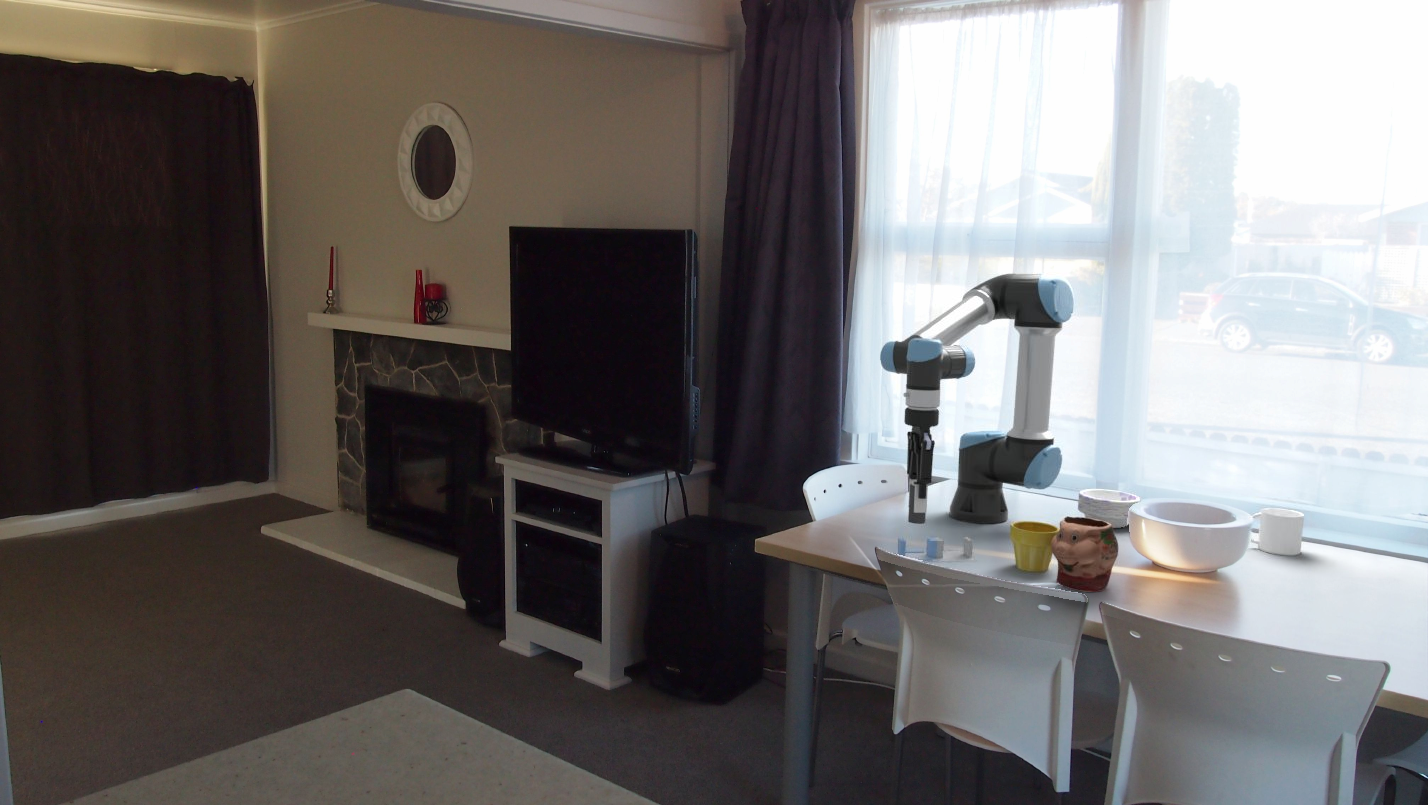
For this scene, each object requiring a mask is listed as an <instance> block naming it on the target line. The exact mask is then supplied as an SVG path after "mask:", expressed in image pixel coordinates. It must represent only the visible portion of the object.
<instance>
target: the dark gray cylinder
mask: <svg viewBox="0 0 1428 805" xmlns="http://www.w3.org/2000/svg"><path fill="white" fill-rule="evenodd" d="M914 482H917V480H913V481H912V484H910V494H909V493H908V506H909V507H908V517H907V518H908V519H907V521H908V523H910V524H915V525H917V524H918V525H921V524H923V525H924V524H925V523H926V515H927V514H926V513H927V512H926V513H915V512H914V496H915V484H914Z"/></svg>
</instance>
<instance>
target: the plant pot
mask: <svg viewBox="0 0 1428 805" xmlns="http://www.w3.org/2000/svg"><path fill="white" fill-rule="evenodd" d="M1059 530H1060V527H1058V526H1056V525H1053V524H1050V523H1047V522H1042V521H1035V520H1020V521H1013V522H1012V523H1011V524H1010V529H1009V539H1010V541H1012V545H1013V546H1012V547H1013V552H1014V559H1015V567H1016V568H1017V569H1020V570H1023V571H1027V572H1034V573H1035V572H1037V573H1039V572H1047V571H1048V570H1049V567H1050V564H1051V561H1052V558H1053V557H1052V556H1053V553H1052V550H1051V542H1052V539H1053V538H1054V537H1055V536H1056V535H1057V534H1058V532H1059Z"/></svg>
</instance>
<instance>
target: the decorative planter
mask: <svg viewBox="0 0 1428 805" xmlns="http://www.w3.org/2000/svg"><path fill="white" fill-rule="evenodd" d="M1051 550H1052V553H1053V554H1052V556H1054V557H1055V559H1056V561H1057V575H1056V582H1057V584H1058V585H1060V586H1062V587H1065V588H1068V589H1069V590H1070V589H1071V590H1074V591H1080V592H1086V593H1097V592H1101V591H1104V590H1105V589H1107V586H1109V585H1108V584H1109V582H1110V579H1111V575H1112V570H1113V567H1114V565H1115V562H1116V561H1117V558H1118V555H1119V542H1118V539H1117V537H1116V534H1115V532H1114V528H1113V527H1112V525H1111V524H1110V523H1108V522H1105V521H1101V520H1096V519H1092V518H1086V517H1081V516H1066V517H1064V518H1063V519H1062V520H1060V522H1059V532H1058V534H1057V535H1056V536H1055V537H1054V538H1053V539H1052V542H1051Z"/></svg>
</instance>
